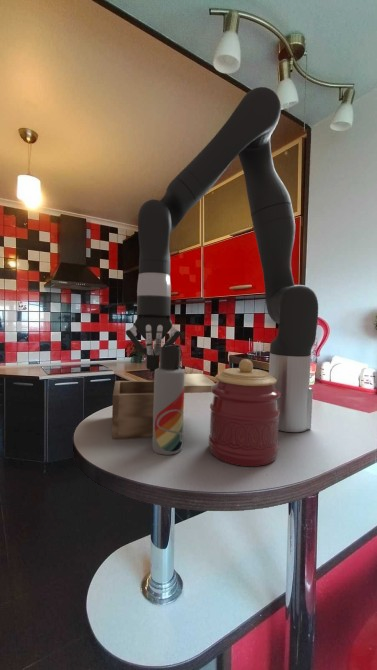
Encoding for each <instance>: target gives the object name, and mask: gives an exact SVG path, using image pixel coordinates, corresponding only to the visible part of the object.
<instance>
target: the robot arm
mask: <svg viewBox="0 0 377 670" xmlns="http://www.w3.org/2000/svg"><path fill="white" fill-rule="evenodd" d="M281 106H282V103H281V101H280V98H279V96H278V94H277V93H276V92H275V91H274V90H272V89H270V88H268V87H266V86H259V87H255V88H252V89H251V90H249V91H248V92H247V93H246V94H245V95H244V96H243V97H242V99H241V100H240V101H239V103H238V105H237V107H236V108H235V109H234V111H233V112H232V113H231V115H230V116H229V118H228V119H227V120H226V121H225V123H224V124H223V125H222V127H221V128H220V130H219V131H218V132H217V133H216V134H215V135H214V137H213V138H211V140H210V141H209V142H208V143H207V145H206V146H204V147H203V149H201V151H200V152H199V153H198V154H197V155H196V156H195V157H194V158H193V159H192V160H191V161H190V162H189V163H188V164H187V165H186V166H185V167H184V168H183V169H182V170H181V171H180V172H179V173H178V174H177V175H175V177H174V178H173V179H172V180H171V181H170V182H169V184H168V185H167V187H166V191H165V194H164V195H163V197H161V199H160V200H159V199H149V200H147V201H145V202H144V203H142V205H141V206H140V208H139V211H138V214H137V233H138V234H137V235H138V245H139V255H138V256H139V259H138V279H137V285H136V286H137V290H136V293H137V294H136V296H137V297H136V299H137V300H136V302H137V303H136V306H137V307H136V319H135V321H134V325H133V326H132V327H131V328H129V329H127V330H126V331H125V334H126V336H127V337H128V339H129V340H130V341H131V342H132V344H133V345H134V346H135V348H136V349H137V351H139V352H140V353H142V354H145V355H146V356H145V358H146V360H145V361H146V363H145V366H146V369H147V370H148V371H149V372H150V373H151V372H153V373H155V370H156V369H158V368H159V363H160V347H163V346H167V345H175V343H176V342H177V340H178V339H179V338H180V336H181V334H182V333H181V331H179V330H177V329H176V328H175V327H174V326H173V322H172V320H171V305H172V303H171V300H172V299H171V298H172V296H171V295H172V294H171V293H172V292H171V291H172V284H171V254H170V235H171V233H172V232H174V230H175V229H176V228H177V227H178V225H180V223H181V221H182V220H183V219H184V218H185V216H186V214H187V213H188V212H189V211H190V210H191V209H192V208H193V207H194V206H195V205H196V204H197V203H198V202H200V200H202V198H203V197H205V195H206V194H208V192H209V191H210V190H211V189H212V188H213V186H214V185H215V184H216V183H217V181H218V180H219V179H220V177H221V176H222V175H223V174H224V172H225V171H226V170H227V169H228V167H229V166H230V165H231V163H232V162H233V161H234V160H235V159H236V158H237V157H238V159H239V162H240V165H241V168H242V171H243V175H244V176H243V177H244V180H245V189H246V196H247V199H248V205H249V211H250V217H251V221H252V227H253V232H254V236H255V241H256V244H257V250H258V256H259V260H260V264H261V269H262V275H263V276H262V277H263V284H264V293H265V294H264V296H265V304H266V311H267V313H268V316H269V317H270V319H271V320H272V321H273V322H274V323H276V324H278V330H277V335H276V336H275V338H274V339H273V340H271V342H270V346H269V361H268V362H269V367H268V373H269V374H270V375H271V376H272V377H274V378H275V379H276V380H277V382H276V383H275V384H274V386H275V388H276V389H278V390H279V391H280V392H281V396H280V397H279V398H278V400H277V401H278V408H279V410H280V414H279V425H278V431H282V432H289V433H301V432H305V431H306V430H311V429H312V414H313V397H314V395H313V394H314V389H313V388H312V387H310V381H311V380H310V379H311V377H310V376H311V358H312V357H311V356H312V349H313V347H314V344H315V342H316V338H317V329H318V318H319V302H318V298H317V294H316V293H315V291H314V290H313V289H312V288H311V287H310V286H306V285H303V284H295V282H294V277H293V271H292V253H293V248H294V243H295V238H296V237H295V235H296V222H295V221H296V220H295V215H294V209H293V205H292V199H291V196H290V194H289V191H288V190H287V187H286V186H285V184H284V183H283V181H282V180H281V178H280V176H279V174H278V173H277V171H276V169H275V165H274V160H273V155H272V149H271V147H272V145H271V135H273V133H274V131H275V129H276V127H277V125H278V123H279V120H280V117H281V111H282V107H281ZM137 331H138V332H139V334H140V335H141V337H142V338H143V339H144V340H145V346H143V345H142V343H141V342H140V341H139V340H138V338H137V337H136V336H137V335H138V333H137ZM168 333H169V334H168ZM167 334H168V335H169V337H168V339H167V340H166V342H165V343H164V344H163V345H162V340H164V338H165V337H166V335H167ZM153 340H154V341H153ZM153 342H154V343H153ZM153 344H154V345H153ZM161 345H162V346H161Z"/></svg>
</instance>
